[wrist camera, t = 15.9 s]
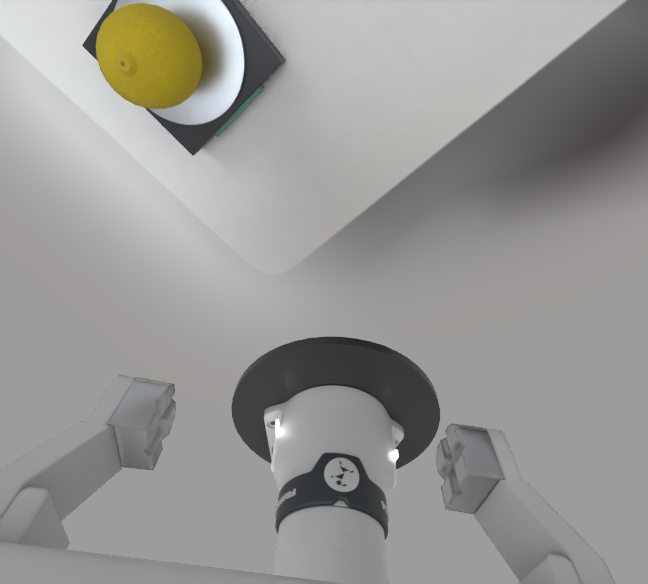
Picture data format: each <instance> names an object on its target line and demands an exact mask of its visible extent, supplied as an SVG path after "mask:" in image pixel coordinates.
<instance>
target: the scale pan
mask: <svg viewBox="0 0 648 584" xmlns="http://www.w3.org/2000/svg"><path fill="white" fill-rule="evenodd" d="M135 3H147V4H152V5H158V6H160V7H162V8H164V9H166V10H168V11H170V12H172V13H173V14H175V15H176V16H177V17H179V18H180V19H181V20H182V21H183V22H184V23H185V24H186V25H187V27H188V28H189V29H190V30H191V32H192V33H193V35H194V37H195V39H196V41H197V43H198V45H199V48H200V52H201V55H202V73H201V79H200V81H199V84H198V86H197V88H196V90H195V91H194V92H193V94H192V95H191V96H190V97H189V98H188V99H187V100H185V101H184V102H182V103H181V104H179V105H177V106H174V107H170V108H167V109H150V110H151V111H152V112H154V113H155V114H157V115H159V116H160V117H162V118H164V119H167V120H169V121H171V122H175V123H178V124H184V125H199V124H204V123H208V122H211V121H213V120H215V119H217V118H219V117H220V116H222V115H223V114H224V113H225V112H227V111H228V110H229V109H230V108H231V106H232V105H233V104H234V103H235V101H236V100H237V98H238V96H239V94H240V92H241V90H242V87H243V83H244V80H245V73H246V51H245V46H244V41H243V37H242V34H241V31H240V28H239V26H238V24H237V21H236V19H235V17H234V16H233V14H232V12H231V10H230V9H229V8H228V6H227V5H226V3H225V2H224V1H223V0H118V1H117V4H116V6H115V9H114V11H115V10H117V9H119V8H121V7H123V6H125V5H128V4H135ZM148 109H149V108H148Z"/></svg>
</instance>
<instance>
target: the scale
mask: <svg viewBox="0 0 648 584" xmlns="http://www.w3.org/2000/svg"><path fill="white" fill-rule="evenodd" d="M117 1H118V0H112V2H111V3H110V5H109V6H108V8H107V9H106V11H105V12H104V14H103V15H102V17H101V18H100V20H99V21H98V23H97V24H96V26H95V27H94V29H93V30H92V32H91V33H90V35H89V36H88V38H87V39H86V41H85V42H84V43H83V47H84V48H85V49H86V50H87V51H88V52H89V53H90V54H91V55H92V56H93V57H94V58H95V59H96V60H97V54H96V40H97V34H98V32H99V29H100V27H101V25H102V23H103V22H104V20H105V19H106V18H107V17H108V16H109V15H110V14H111V13H112V12H113V11H114V9H115V6H116V4H117ZM223 1H224V2H225V3H226V5H227V6H228V8H229V9H230V10H231V12H232V14H233V16H234V17H235V19H236V21H237V24H238V26H239V28H240V31H241V34H242V37H243V41H244V46H245V51H246V73H245V80H244V83H243V87H242V90H241V92H240V94H239V96H238V98H237V100H236V101H235V103H234V104H233V105H232V106H231V108H230V109H229V110H228V111H227V112H225V113H224V114H223V115H222V116H220V117H219V118H217V119H215V120H213V121H211V122H208V123H204V124H199V125H184V124H178V123H175V122H171V121H169V120H167V119H164V118H162V117H160V116H159V115H157V114H155V113H154V112H152V111H151V110H150V109H148V108H146V109H147V110H148V111H149V112H150V113H151V114H152V115H153V116H154V117H155V118H156V119H157V120H158V121H159V122H160V123H161V124H162V125H163V126H164V127H165V128H166V129H167V130H168V131H169V132H170V133H171V134H172V135H173V136H174V137H175V138H176V139H177V140H178V141H179V142H180V143H181V144H182V145H183V146H184V147H185V148H186V149H187V150H188V151H189V152H190V153H191V154H192V155H194V154H196V153H197V152H198V151H199V150H200V149H201V148H203V147H204V146H205V144H206V143H207V142H208V141H209V140H210V139H211V138H212V137H213V136H214V135H216V136H217V137H218V136H219V135H220V134H221V133H222V132H223V131H224V130H225V129H226V128H227V127H228V126H229V125H230V124H231V123H232V122H233V121H234V120H235V119H236V118H237V117H238V115H239V114H240V113H241V112H242V111H243V110H244V109H245V108H246V107H247V106H248V105H249V104H250V103H251V102H252V101H253V100H254V99H255V98H256V97H257V96H258V95H259V94H260V93H261V92H262V91H263V89H264V88H265V87H264V85H263V84H264V83H265V82H266V81H267V80H268V78H269V77H270V76H271V75H272V74H273V73H274V72H275V71H276V70H277V69H278V68H279V67H280V66H281V65H282V64H283V63H284V62H285V59H284V57H283V56H282V55H281V54H280V52H279V51H278V50H277V48H276V47H275V46H274V45H273V43H272V42H271V41H270V40H269V38H268V37H267V36H266V35H265V33H264V32H263V31H262V29H261V28H260V27H259V26H258V24H257V23H256V22H255V21H254V19H253V18H252V17H251V16H250V14H249V13H248V12H247V10H246V9H245V8H244V7H243V5H242V4H241V3H240V2H239V0H223ZM97 61H98V60H97Z"/></svg>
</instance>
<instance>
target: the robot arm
mask: <svg viewBox="0 0 648 584" xmlns="http://www.w3.org/2000/svg"><path fill="white" fill-rule="evenodd" d="M174 392H175V389H174V384H172V383H166V382H160V381H155V380H149V379H143V378H136V377H130V376H124V375H119V376H117V377H116V378H115V379H114V380H113V382H112V383H111V385H110V386H109V388H108V389H107V391H106V392H105V394H104V395H103V397H102V398H101V400H100V401H99V403H98V405H97V406H96V407H95V409H94V410H93V412H92V413H91V415H90V417H89V418H88V420H87V421H86V422H83V421H80V422H78V423H77V424H75V425H73V426H72V427H70V428H68V429H67V430H65V431H63V432H62V433H60V434H58V435H57V436H55V437H53V438H51V439H50V440H48V441H46V442H45V443H43V444H41V445H40V446H38V447H36V448H35V449H33V450H31V451H30V452H28V453H26V454H25V455H23V456H21V457H20V458H18V459H16V460H15V461H13V462H11V463H10V464H8V465H6V466H5V467H3V468H1V469H0V584H389V581H388V572H387V560H386V549H385V539H386V538H387V535H388V520H389V519H388V509H387V504H386V495H388V494H389V493H390V492H391V491H392V489H393V488H394V487H395V486H396V460H397V458H398V450H396V449H395V448H396V447H397V446H398V444H399V443H400V442H401V441H402V439H403V438H404V428H403V427H402V426H401V425H400V424H398V423H397V422H396V421H394V420H393V419H391V418H390V416H389V415H388V413H387V411H386V409H385V408H384V406H383V405H382V404H381V403H380V402H379V401H378V400H377V399H376V398H374V397H373V396H371V395H370V394H368V393H366V392H364V391H361V390H358V389H355V388H351V387H346V386H337V385H327V386H318V387H314V388H310V389H307V390H304V391H302V392H300V393H298V394H296V395H295V396H293V397H292V398H290V399H289V400H288V401H286V402H284V403H282V404H278V405H274V406H271V407H268V408H267V409H265V411H264V422H265V428H266V433H267V439H268V444H269V449H270V455H271V460H272V462H271V470H272V471H273V472H274V478H275V482H276V485H277V488H278V491H279V499H278V503H277V506H276V531H277V534H278V539H277V547H276V553H275V561H274V568H273V575H271V574H262V573H254V572H246V571H238V570H230V569H221V568H213V567H204V566H196V565H188V564H180V563H172V562H163V561H156V560H148V559H139V558H131V557H123V556H115V555H106V554H98V553H90V552H81V551H74V550H66V549H67V547H68V545H69V540H68V537H67V534H66V532H65V530H64V527H63V525H62V523H61V521H62V520H63V519H64V518H65V517H66V516H67V515H69V514H70V513H71V512H72V511H73V510H74V509H76V508H77V507H78V506H79V505H80V504H81V503H82V502H84V501H85V500H86V499H87V498H88V497H90V496H91V495H92V494H93V493H94V492H95V491H97V490H98V489H99V488H100V487H101V486H102V485H103V484H105V483H106V482H107V481H108V480H109V479H110V478H112V477H113V476H114V475H115V474H116V473H118V472H119V471H120V470H121V467H126V468H136V469H145V470H153V469H154V467H155V465H156V463H157V460H158V458H159V456H160V454H161V451H162V449H163V448H162V439H164V438H165V437H166V436H168V435H169V433H170V430H171V428H172V425H173V421H174V418H175V411H176V402H175V401H174V400H173V399H172V397H173V395H174ZM446 435H447V437H446V438H444V439H442V440H441V441H440V443H439V445H438V447H437V452H436V465H437V471H438V473H439V474H440V475H441V477H442V478H443V479H444V482H443V484H442V486H441V490H442V494H443V500H444V504H445V509H446V510H452V511H458V512H464V513H470V514H475V515H474V517H475V518H476V519H477V521H478V522H479V524H480V525H481V527H482V528H483V530H484V531H485V532H486V534H487V535H488V537H489V538H490V539H491V541H492V542H493V544H494V545H495V547H496V548H497V550H498V551H499V552H500V554H501V555H502V557H503V558H504V560H505V561H506V563H507V564H508V565H509V567H510V568H511V570H512V571H513V573H514V574H515V575H516V577H517V578H518V580H519V581H520V582H519V583H518V584H616V583H615V581H614V579H613V577H612V575H611V573H610V571H609V569H608V567H607V564H606V562H605V561H604V559H603V558H602V557H601V556H600V555H599V554H598V553H597V552H596V551H595V550H594V549H593V548H592V547H591V546H590V545H589V544H588V543H587V542H586V541H585V540H584V539H583V538H582V537H581V536H580V535H579V534H578V533H577V532H576V531H575V530H574V529H573V528H572V527H571V526H570V525H569V524H568V523H567V522H566V521H565V520H564V519H563V518H562V517H561V516H560V515H559V514H558V512H557V511H555V510H554V508H553V507H552V506H551V505H550V504H549V503H547V502H546V500H545V499H544V498H543V497H542V496H541V495H540V494H539V493H538V492H537V491H536V490H535V489H534V488H533V487H532V486H531V485H530V484H529V483H524V482H523V479H522V477H521V474H520V472H519V469H518V467H517V464H516V462H515V459H514V456H513V454H512V452H511V449H510V446H509V444H508V442H507V439H506V436H505V434H504V433H503V432H502V431H500V430H493V429H486V428H481V427H474V426H467V425H459V424H450V425H449V426H448V427H447V429H446Z"/></svg>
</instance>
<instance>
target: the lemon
mask: <svg viewBox="0 0 648 584" xmlns="http://www.w3.org/2000/svg"><path fill="white" fill-rule="evenodd" d="M96 54H97V60H98V63H99V66H100V69H101V71H102V73H103V75H104V77H105V79H106V81H107V82H108V83H109V84H110V86H111V87H112V88H113V89H114V90H115V91H116V92H117V93H118V94H119V95H121V96H122V97H123V98H124V99H126V100H128V101H130V102H131V103H133V104H135V105H138V106H142V107H145V108H149V109H167V108H170V107H174V106H177V105H179V104H181V103H182V102H184V101H185V100H187V99H188V98H189V97H190V96H191V95H192V94H193V92H194V91H195V90H196V88H197V86H198V84H199V81H200V79H201V73H202V55H201V52H200V48H199V45H198V43H197V41H196V39H195V37H194V35H193V33H192V32H191V30H190V29H189V28H188V27H187V25H186V24H185V23H184V22H183V21H182V20H181V19H180V18H179V17H177V16H176V15H175V14H173V13H172V12H170V11H168V10H166V9H164V8H162V7H160V6H158V5H152V4H147V3H135V4H128V5H125V6H123V7H121V8H119V9H117V10H115V11H113V12H112V13H111V14H110V15H109V16H108V17H107V18H106V19H105V20H104V22H103V23H102V25H101V27H100V29H99V32H98V34H97V40H96Z"/></svg>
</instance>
